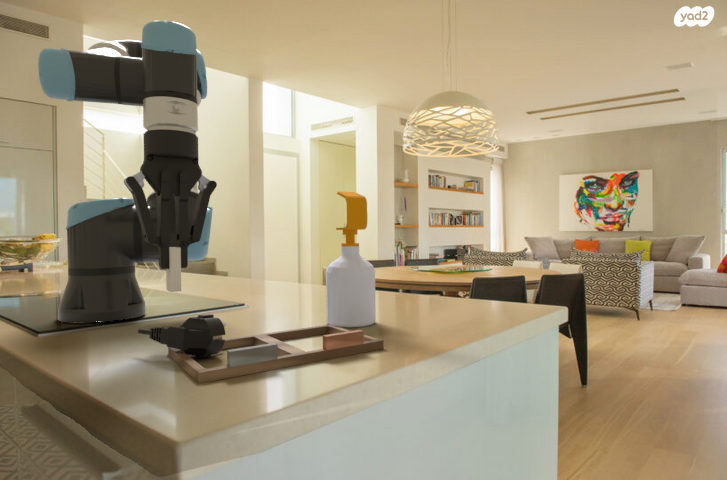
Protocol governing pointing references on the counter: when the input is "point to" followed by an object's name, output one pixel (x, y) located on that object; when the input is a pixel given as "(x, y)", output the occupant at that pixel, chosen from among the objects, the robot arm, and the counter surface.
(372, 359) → the counter surface
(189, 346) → the power plug
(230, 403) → the counter surface
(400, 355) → the counter surface
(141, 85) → the robot arm
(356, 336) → the strip
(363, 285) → the soap bottle
